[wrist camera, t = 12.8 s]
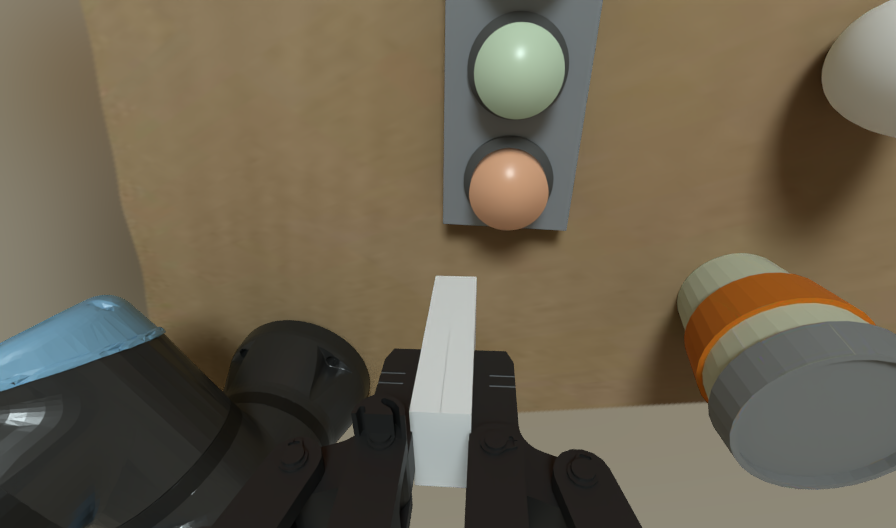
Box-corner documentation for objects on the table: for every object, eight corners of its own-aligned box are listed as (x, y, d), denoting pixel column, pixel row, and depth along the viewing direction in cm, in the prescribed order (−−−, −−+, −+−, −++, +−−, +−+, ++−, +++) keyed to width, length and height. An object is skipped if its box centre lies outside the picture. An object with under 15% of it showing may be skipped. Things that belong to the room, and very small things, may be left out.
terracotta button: (469, 217, 35) (467, 228, 34) (472, 146, 33) (470, 153, 31) (541, 221, 35) (543, 232, 33) (550, 149, 32) (553, 157, 30)
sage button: (473, 111, 31) (472, 117, 30) (477, 20, 29) (476, 21, 27) (555, 114, 31) (558, 121, 29) (567, 22, 28) (571, 23, 26)
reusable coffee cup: (702, 370, 45) (783, 514, 32) (628, 291, 42) (685, 417, 29) (833, 301, 40) (992, 440, 27) (761, 205, 37) (904, 312, 24)
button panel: (447, 209, 40) (442, 226, 37) (452, -150, 28) (446, -169, 25) (561, 216, 39) (566, 233, 36) (617, -152, 27) (631, -172, 24)
